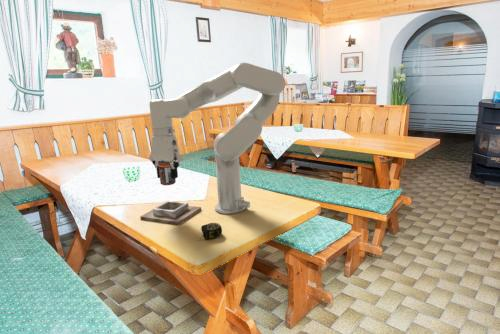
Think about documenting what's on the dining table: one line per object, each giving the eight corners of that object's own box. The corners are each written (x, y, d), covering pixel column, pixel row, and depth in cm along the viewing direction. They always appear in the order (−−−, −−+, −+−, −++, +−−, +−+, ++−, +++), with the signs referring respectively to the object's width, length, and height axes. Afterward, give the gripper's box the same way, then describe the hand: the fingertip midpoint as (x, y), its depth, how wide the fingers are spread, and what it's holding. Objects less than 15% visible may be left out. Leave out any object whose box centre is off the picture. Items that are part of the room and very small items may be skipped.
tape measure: (201, 233, 124) (200, 223, 123) (220, 230, 126) (220, 221, 125) (203, 241, 118) (202, 231, 117) (223, 239, 119) (222, 228, 118)
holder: (201, 210, 146) (200, 201, 145) (178, 225, 132) (177, 215, 131) (165, 205, 153) (164, 197, 152) (140, 219, 139) (139, 210, 138)
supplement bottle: (158, 183, 140) (154, 155, 137) (172, 180, 143) (169, 153, 141) (164, 186, 135) (160, 158, 133) (178, 183, 139) (175, 155, 136)
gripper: (187, 131, 134) (191, 176, 139) (151, 130, 141) (156, 173, 146) (175, 134, 128) (180, 182, 132) (138, 133, 135) (143, 178, 139)
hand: (167, 177), depth 139 cm, fingers closed on supplement bottle, 6 cm apart
